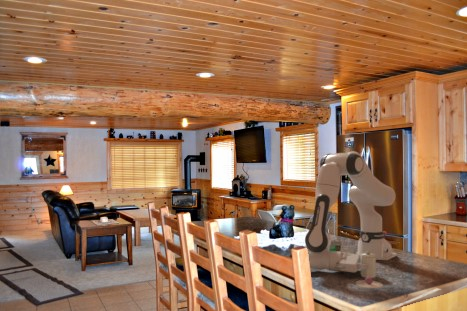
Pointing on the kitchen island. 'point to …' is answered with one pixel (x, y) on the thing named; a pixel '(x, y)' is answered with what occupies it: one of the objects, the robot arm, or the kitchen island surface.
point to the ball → (369, 280)
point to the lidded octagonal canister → (371, 261)
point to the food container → (335, 245)
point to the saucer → (372, 285)
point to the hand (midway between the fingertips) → (369, 264)
